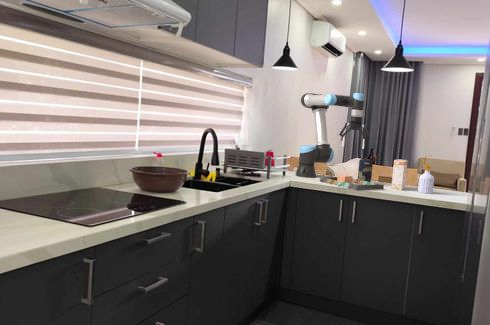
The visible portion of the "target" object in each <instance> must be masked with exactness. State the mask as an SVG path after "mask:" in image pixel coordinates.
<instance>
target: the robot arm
mask: <svg viewBox="0 0 490 325" xmlns="http://www.w3.org/2000/svg"><path fill="white" fill-rule="evenodd" d="M365 96H366V95H365V94H364V93H360V92H354V93H353V95H352V96H351V95H342V94H334V93H328V94H323V93H313V92H307V93H303V95H302V96H301V97H300V103H301V104H300V105H302V107H304V108H306V109H310V110H311V113H313V116H314V128H315V142H316V143H315V144H305V145H301V146H300V149H299V156H298V157H299V158H298V166H297V168H296V171H295V176H297V177H300V178H301V177H302V178H316V177H317V174H316V169H315V168H316V167H315V163H319V164H322V163H323V164H328V163H331V162H332V161H333V159H334V156H335V152H334V149H333V148H332V147H331V145H330V143H329V140H328V130H327V129H328V128H327V116H326V113H327V112H328V109H329V108H330V106H335V107H343V108H351V112H350V115H351V116H350V120H349V122H345V123H344V126H343V127H342V129H341V131H340V132H339V134H338V136H340V137H341V139H340V142H342V143H341V147H345V141H346V140H345V139H346V137H345V136H346V135H347V134H348V133H349V132H350V131H351V130H352V131H358V132H360V134H361V135H362V137H363V139H362V146H361V147H362V149H363V150H364V149H365V145H366V144H367V141H368V139H370V138H371V137H370V134H369V131H368V128H367V124H362V122H363V114H364V106H365V98H366V97H365ZM348 126H349V128H348V129H347V127H348ZM362 128H363V129H364V132H363V130H362ZM345 130H346V131H345Z"/></svg>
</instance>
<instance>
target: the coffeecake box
mask: <svg viewBox="0 0 490 325" xmlns="http://www.w3.org/2000/svg"><path fill="white" fill-rule="evenodd" d="M408 161H409V160H407V159H399V158H398V159H394V160H393V169H392V177H391V178H392V179H391V185H390V186H391V188H390V190H394V189H396V190H397V191H403V190H404V189H405V188H406V179H407V170H408ZM396 190H395V191H396Z"/></svg>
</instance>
